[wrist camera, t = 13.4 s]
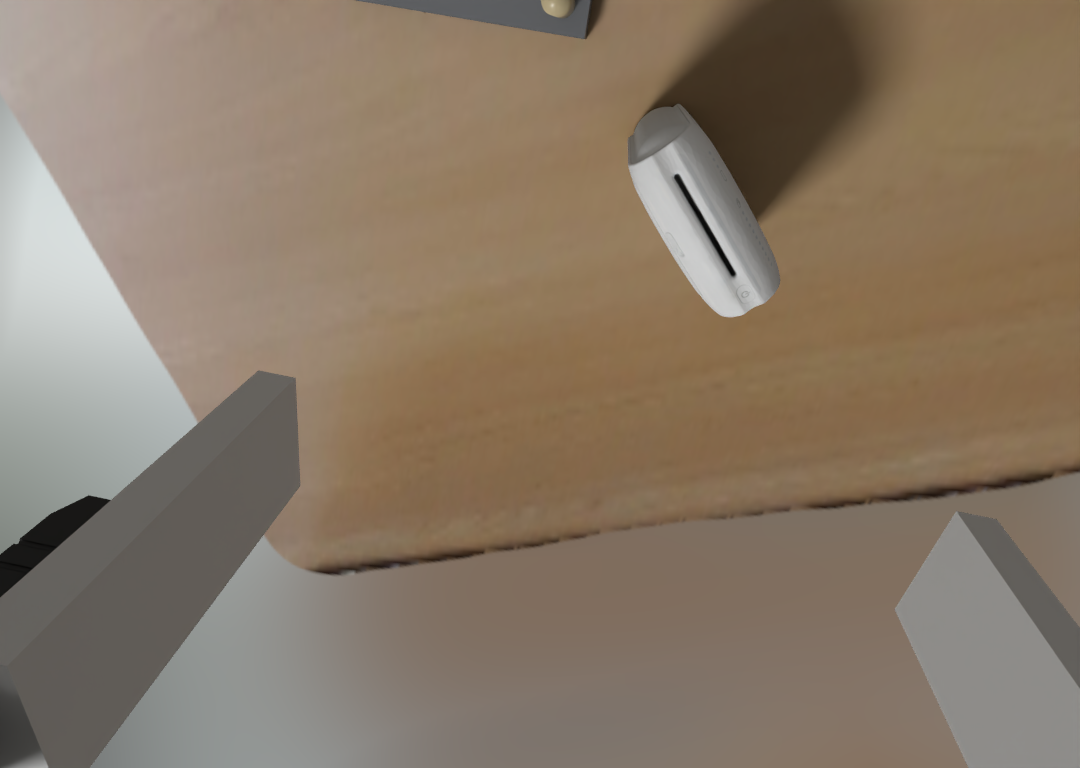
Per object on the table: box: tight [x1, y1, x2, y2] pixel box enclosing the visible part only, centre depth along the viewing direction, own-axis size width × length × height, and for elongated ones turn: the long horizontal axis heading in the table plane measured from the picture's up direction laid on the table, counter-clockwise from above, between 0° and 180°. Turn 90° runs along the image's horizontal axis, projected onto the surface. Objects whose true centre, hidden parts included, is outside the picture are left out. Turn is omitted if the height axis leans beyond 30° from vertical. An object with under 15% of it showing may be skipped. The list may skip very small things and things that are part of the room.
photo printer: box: [628, 104, 780, 317], centre depth 34 cm, size 10×4×12 cm, turn 35°
